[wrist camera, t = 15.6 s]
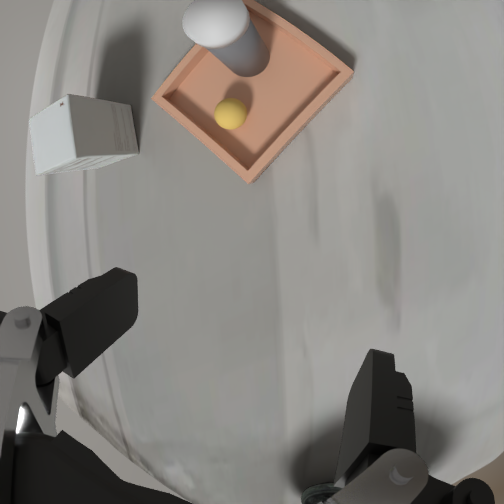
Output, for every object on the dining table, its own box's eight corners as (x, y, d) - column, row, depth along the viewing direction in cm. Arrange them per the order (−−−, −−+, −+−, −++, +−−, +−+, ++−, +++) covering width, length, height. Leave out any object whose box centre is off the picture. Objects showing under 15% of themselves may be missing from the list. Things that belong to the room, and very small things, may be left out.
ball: (234, 95, 34) (224, 88, 31) (256, 113, 34) (249, 108, 31) (214, 118, 35) (202, 114, 32) (236, 137, 35) (227, 134, 32)
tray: (249, 4, 31) (243, -6, 28) (352, 78, 31) (354, 71, 29) (161, 101, 37) (151, 98, 34) (253, 182, 37) (248, 184, 35)
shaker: (246, 30, 31) (212, -18, 20) (281, 54, 32) (259, 8, 20) (216, 62, 33) (170, 25, 22) (250, 87, 33) (214, 54, 22)
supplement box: (91, 121, 40) (27, 117, 28) (132, 104, 38) (68, 91, 26) (99, 169, 41) (34, 177, 29) (140, 155, 39) (76, 158, 28)
